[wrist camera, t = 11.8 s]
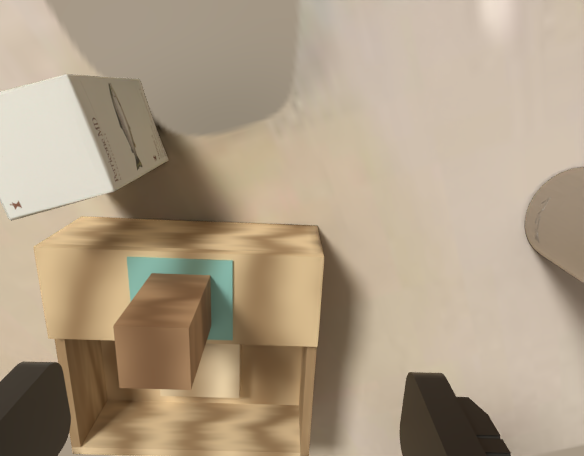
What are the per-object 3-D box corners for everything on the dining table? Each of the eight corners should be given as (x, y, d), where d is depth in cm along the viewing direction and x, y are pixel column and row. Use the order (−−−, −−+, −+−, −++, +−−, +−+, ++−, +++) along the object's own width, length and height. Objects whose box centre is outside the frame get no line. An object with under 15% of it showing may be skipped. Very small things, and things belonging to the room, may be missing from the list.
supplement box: (171, 161, 38) (117, 196, 26) (93, 181, 38) (4, 224, 26) (142, 76, 35) (68, 70, 23) (60, 98, 36) (-55, 104, 24)
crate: (317, 225, 40) (324, 258, 32) (305, 406, 46) (308, 468, 39) (81, 216, 39) (31, 247, 31) (104, 400, 46) (67, 463, 38)
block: (210, 275, 32) (188, 328, 25) (211, 326, 34) (191, 390, 27) (151, 273, 32) (113, 326, 25) (155, 324, 34) (119, 388, 27)
